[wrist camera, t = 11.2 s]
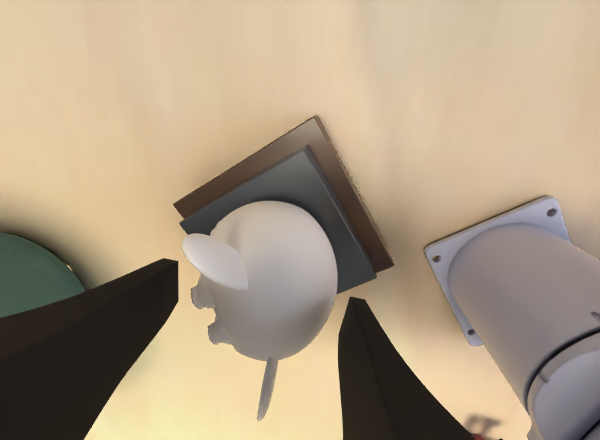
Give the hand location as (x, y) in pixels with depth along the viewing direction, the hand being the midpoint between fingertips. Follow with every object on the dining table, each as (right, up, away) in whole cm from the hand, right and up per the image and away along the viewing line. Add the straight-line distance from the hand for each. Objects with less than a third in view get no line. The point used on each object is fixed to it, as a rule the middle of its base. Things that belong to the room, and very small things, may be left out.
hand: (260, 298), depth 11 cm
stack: (+1, +3, +8) cm, 8 cm away
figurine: (0, +2, +4) cm, 4 cm away
